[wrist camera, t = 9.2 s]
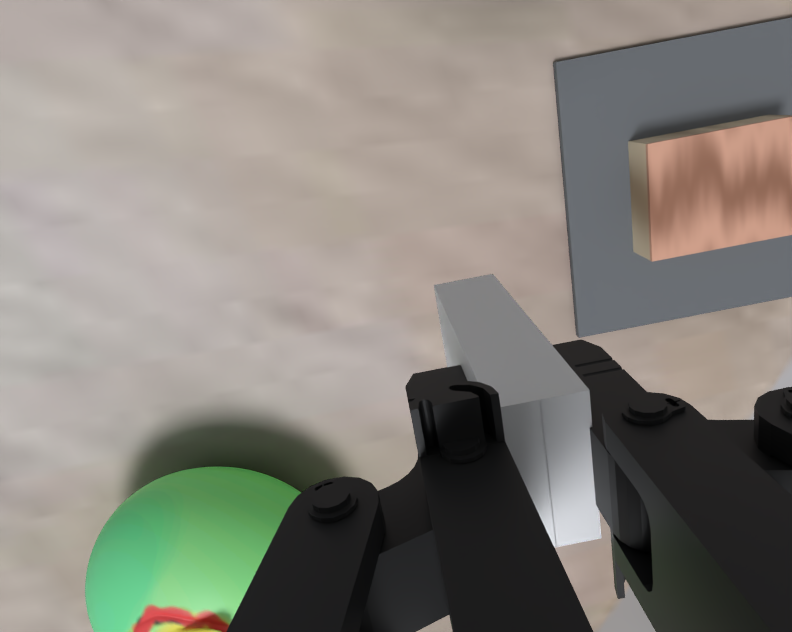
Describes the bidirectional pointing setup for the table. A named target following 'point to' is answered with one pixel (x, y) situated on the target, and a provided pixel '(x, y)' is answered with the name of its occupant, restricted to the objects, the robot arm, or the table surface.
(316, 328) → the table surface
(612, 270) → the rubber mat
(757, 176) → the oak tile
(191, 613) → the toy bird
